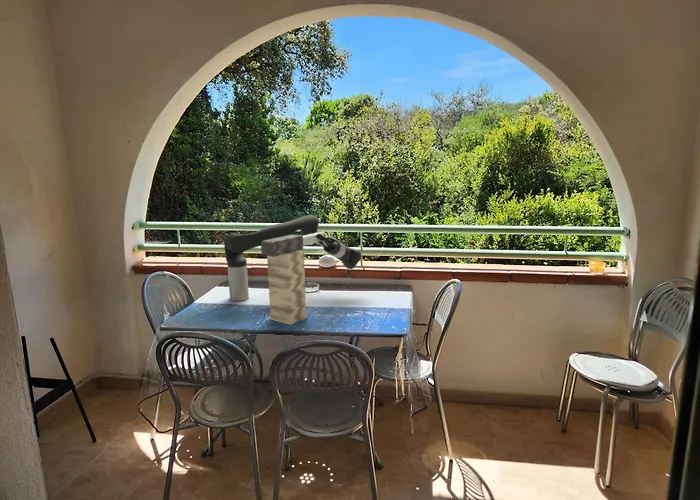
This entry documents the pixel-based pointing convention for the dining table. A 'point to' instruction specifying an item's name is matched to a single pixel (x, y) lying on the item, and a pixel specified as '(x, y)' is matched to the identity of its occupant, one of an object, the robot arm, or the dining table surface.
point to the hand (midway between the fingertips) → (314, 235)
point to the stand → (286, 278)
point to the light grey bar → (312, 238)
